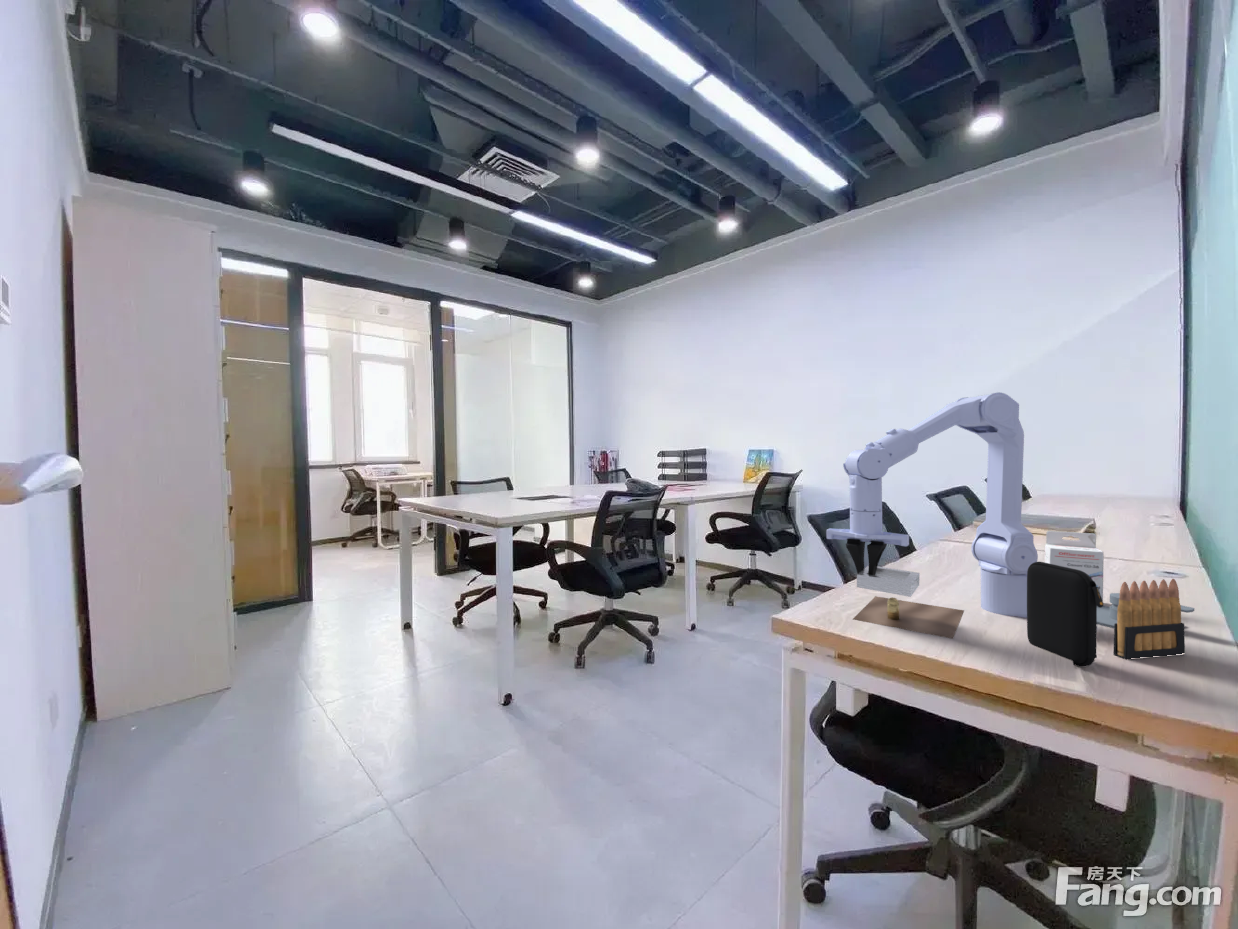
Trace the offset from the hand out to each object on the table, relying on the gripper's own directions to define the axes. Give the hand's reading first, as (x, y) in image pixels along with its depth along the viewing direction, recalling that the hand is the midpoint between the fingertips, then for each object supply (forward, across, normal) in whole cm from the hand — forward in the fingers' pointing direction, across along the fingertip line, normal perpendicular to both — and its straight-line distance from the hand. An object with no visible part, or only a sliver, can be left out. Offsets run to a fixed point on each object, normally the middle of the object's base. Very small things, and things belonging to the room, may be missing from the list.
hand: (866, 578), depth 96 cm
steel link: (+1, +4, 0) cm, 4 cm away
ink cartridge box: (+8, +32, +36) cm, 49 cm away
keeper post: (+7, +5, 0) cm, 9 cm away
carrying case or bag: (+8, +29, -2) cm, 30 cm away
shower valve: (+9, +39, +26) cm, 48 cm away
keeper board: (+8, +7, +4) cm, 11 cm away
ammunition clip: (+8, +39, +8) cm, 41 cm away
